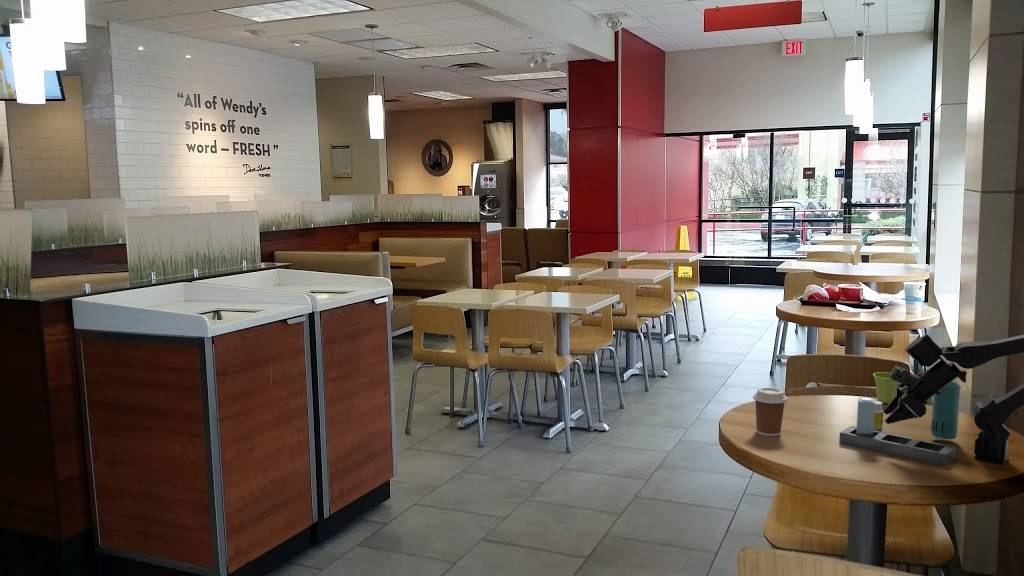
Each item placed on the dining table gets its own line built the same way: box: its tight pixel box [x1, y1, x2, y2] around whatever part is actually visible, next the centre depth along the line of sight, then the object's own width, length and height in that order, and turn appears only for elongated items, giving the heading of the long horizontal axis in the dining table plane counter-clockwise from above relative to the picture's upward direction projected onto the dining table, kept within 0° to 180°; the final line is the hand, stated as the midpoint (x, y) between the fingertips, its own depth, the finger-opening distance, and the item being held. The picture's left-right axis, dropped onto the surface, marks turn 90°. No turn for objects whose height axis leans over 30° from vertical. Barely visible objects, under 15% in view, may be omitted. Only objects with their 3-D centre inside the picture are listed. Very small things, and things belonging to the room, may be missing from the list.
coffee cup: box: [752, 386, 788, 437], centre depth 226 cm, size 9×9×12 cm
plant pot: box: [872, 371, 900, 405], centre depth 259 cm, size 9×9×9 cm
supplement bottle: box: [873, 400, 884, 432], centre depth 228 cm, size 5×5×8 cm
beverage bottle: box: [929, 380, 962, 440], centre depth 219 cm, size 6×7×20 cm
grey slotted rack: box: [838, 425, 956, 467], centre depth 212 cm, size 26×8×3 cm, turn 48°
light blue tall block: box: [856, 397, 876, 438], centre depth 217 cm, size 4×4×12 cm
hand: (885, 417), depth 215 cm, fingers open, 9 cm apart
